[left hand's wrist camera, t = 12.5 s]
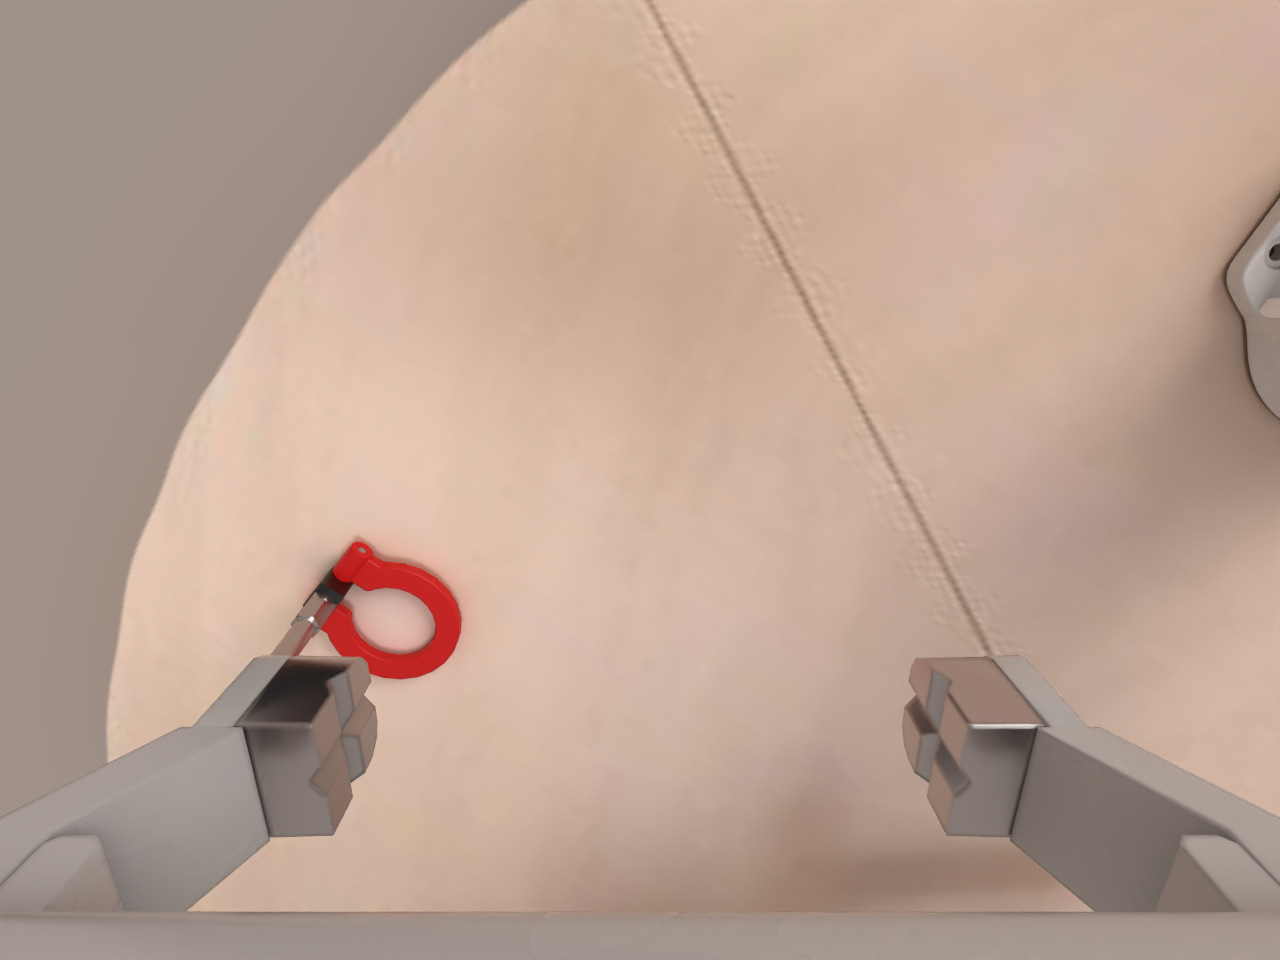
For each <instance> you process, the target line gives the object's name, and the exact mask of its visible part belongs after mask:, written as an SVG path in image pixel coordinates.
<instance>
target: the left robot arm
mask: <svg viewBox="0 0 1280 960" xmlns="http://www.w3.org/2000/svg"><path fill="white" fill-rule="evenodd" d="M1273 246H1274V253H1273V255H1272V256H1271V257H1269V252H1270V250H1271V248H1272V247H1273ZM1226 282H1227V287H1228V290H1229V293H1230V295H1231V297H1232V299H1233V301H1234V303H1235V304H1236V306H1237V308H1238V310H1239V311H1240V313H1241V314H1242V316H1243V318H1244V320H1245V324H1246V331H1247V351H1248V363H1249V368H1250V373H1251V376H1252V380H1253V383H1254V385H1255V388H1256V390H1257V392H1258V394H1259V395H1260V397H1261V399H1262V400H1263V402H1264V403H1265V404H1266V406H1267V407H1268V408H1269V409H1270V410H1271V411H1272V412H1273V413H1274V414H1275V415H1276V416H1277V417H1278V418H1280V198H1279V199H1278V201H1277V202H1276V203H1275V205H1274V206H1273V207H1272V209H1271V210H1270V211H1269V213H1268V214H1267V215H1266V217H1265V218H1264V219H1263V221H1262V222H1261V223H1260V225H1259V226H1258V227H1257V229H1256V230H1255V231H1254V233H1253V234H1252V235H1251V237H1250V238H1249V239H1248V241H1247V242H1246V243H1245V245H1244V246H1243V247H1242V249H1241V250H1240V251H1239V253H1238V254H1237V255H1236V257H1235V258H1234V259H1233V261H1232V263H1231V264H1230V266H1229V268H1228V271H1227V276H1226ZM370 683H371V678H370V673H369V668H368V663H367V662H366V661H365V660H364V659H363V658H362V657H335V656H291V655H290V656H260V657H257V658H254V659H253V660H252V661H251V662H250V663H249V664H248V665H247V666H246V668H245V669H244V670H243V671H242V672H241V673H240V674H239V675H238V676H237V678H236V679H235V680H234V681H233V682H232V683H231V684H230V685H229V686H228V688H227V689H226V690H225V691H224V692H223V693H222V694H221V695H220V696H219V698H218V699H217V700H216V701H215V702H214V703H213V704H212V705H211V706H210V708H209V709H208V710H207V711H206V712H205V713H204V714H203V715H202V716H201V717H200V719H199V720H198V721H197V722H196V723H195V724H194V725H193V726H192V727H180V728H178V729H176V730H174V731H172V732H170V733H168V734H166V735H164V736H162V737H160V738H158V739H156V740H154V741H152V742H150V743H148V744H146V745H144V746H142V747H140V748H138V749H136V750H134V751H132V752H130V753H128V754H126V755H124V756H122V757H120V758H118V759H116V760H114V761H112V762H110V763H108V764H106V765H104V766H102V767H100V768H98V769H96V770H94V771H92V772H90V773H88V774H86V775H84V776H82V777H80V778H78V779H76V780H74V781H72V782H70V783H68V784H66V785H64V786H62V787H60V788H58V789H56V790H54V791H52V792H50V793H48V794H46V795H44V796H42V797H40V798H38V799H36V800H34V801H32V802H30V803H28V804H26V805H24V806H22V807H20V808H18V809H16V810H14V811H12V812H10V813H8V814H6V815H4V816H2V817H0V960H1280V817H1278V816H1276V815H1274V814H1272V813H1270V812H1268V811H1266V810H1264V809H1262V808H1260V807H1258V806H1256V805H1254V804H1252V803H1250V802H1248V801H1246V800H1244V799H1242V798H1240V797H1238V796H1236V795H1234V794H1232V793H1230V792H1228V791H1226V790H1224V789H1222V788H1220V787H1218V786H1216V785H1214V784H1212V783H1210V782H1208V781H1206V780H1204V779H1202V778H1200V777H1198V776H1196V775H1194V774H1192V773H1190V772H1188V771H1186V770H1184V769H1182V768H1180V767H1178V766H1176V765H1174V764H1172V763H1170V762H1168V761H1166V760H1164V759H1162V758H1160V757H1158V756H1156V755H1154V754H1152V753H1150V752H1148V751H1146V750H1144V749H1142V748H1140V747H1138V746H1136V745H1134V744H1132V743H1130V742H1128V741H1126V740H1124V739H1122V738H1120V737H1118V736H1116V735H1114V734H1112V733H1110V732H1108V731H1106V730H1104V729H1102V728H1100V727H1088V726H1087V725H1086V724H1085V723H1084V722H1083V721H1082V720H1081V719H1080V717H1079V716H1078V715H1077V714H1076V713H1075V712H1074V711H1073V710H1072V709H1071V708H1070V706H1069V705H1068V704H1067V703H1066V702H1065V701H1064V700H1063V699H1062V698H1061V696H1060V695H1059V694H1058V693H1057V692H1056V691H1055V690H1054V689H1053V688H1052V686H1051V685H1050V684H1049V683H1048V682H1047V681H1046V680H1045V679H1044V678H1043V676H1042V675H1041V674H1040V673H1039V672H1038V671H1037V670H1036V669H1035V668H1034V666H1033V665H1032V664H1031V663H1030V662H1029V661H1028V660H1027V659H1026V658H1023V657H1021V656H1019V655H1005V656H984V657H946V658H916V659H915V661H914V663H913V665H912V667H911V672H910V678H909V683H910V684H911V686H912V688H913V690H914V691H915V693H916V696H915V697H914V698H913V699H912V700H911V701H910V702H909V703H908V704H907V705H906V706H905V709H904V717H903V725H902V727H903V737H904V746H905V749H906V753H907V756H908V759H909V761H910V763H911V766H912V768H913V770H914V772H915V773H916V774H918V775H919V776H920V777H922V778H923V779H925V780H926V781H927V782H929V789H928V795H927V798H928V800H929V802H930V804H931V806H932V807H933V809H934V811H935V813H936V815H937V817H938V819H939V821H940V823H941V825H942V827H943V829H944V831H945V833H946V835H947V836H982V837H1011V838H1010V841H1011V842H1013V843H1014V844H1015V845H1016V846H1017V847H1019V848H1020V849H1021V850H1022V851H1023V852H1025V853H1026V854H1027V855H1028V856H1029V857H1030V858H1032V859H1033V860H1034V861H1035V862H1036V863H1038V864H1039V865H1040V866H1041V867H1042V868H1044V869H1045V870H1046V871H1047V872H1048V873H1049V874H1051V875H1052V876H1053V877H1054V878H1055V879H1057V880H1058V881H1059V882H1060V883H1061V884H1063V885H1064V886H1065V887H1066V888H1067V889H1068V890H1070V891H1071V892H1072V893H1073V894H1074V895H1076V896H1077V897H1078V898H1079V899H1080V900H1082V901H1083V902H1084V903H1085V904H1086V905H1087V906H1089V907H1090V908H1091V909H1092V910H1093V911H1095V912H186V911H187V910H188V909H189V908H190V907H192V906H193V905H194V904H195V903H196V902H198V901H199V900H200V899H201V898H202V897H203V896H205V895H206V894H207V893H208V892H209V891H211V890H212V889H213V888H214V887H215V886H217V885H218V884H219V883H220V882H221V881H223V880H224V879H225V878H226V877H227V876H228V875H230V874H231V873H232V872H233V871H234V870H236V869H237V868H238V867H239V866H240V865H242V864H243V863H244V862H245V861H246V860H247V859H249V858H250V857H251V856H252V855H253V854H255V853H256V852H257V851H258V850H259V849H261V848H262V847H263V846H264V845H265V844H267V843H268V842H269V841H270V838H269V837H297V836H331V835H334V833H335V831H336V829H337V827H338V825H339V823H340V821H341V819H342V817H343V815H344V813H345V811H346V809H347V808H348V806H349V804H350V802H351V800H352V798H353V795H352V789H351V782H353V781H354V780H355V779H357V778H358V777H360V776H361V775H362V774H364V773H365V772H366V770H367V768H368V765H369V763H370V761H371V759H372V757H373V753H374V748H375V744H376V739H377V715H376V708H375V706H374V705H373V704H372V703H371V702H370V701H369V700H368V699H367V698H366V697H365V696H364V693H365V691H366V690H367V688H368V686H369V684H370Z"/></svg>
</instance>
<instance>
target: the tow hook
mask: <svg viewBox="0 0 1280 960" xmlns="http://www.w3.org/2000/svg"><path fill="white" fill-rule="evenodd" d="M353 583H354V584H356V585H357V586H359V587H361V588H362V589H364V590H365V591H372V590H374V589H381V588H394V589H400V590H403V591H406V592H409V593H411V594H413V595H414V596H416V597H418V598H419V599H420V600H421V601H423V602H424V603H425V604H426V605H427V606H428V608H429V610H430V611H431V613H432V614H433V617H434V620H435V624H436V629H435V636H434V638H433V639H432V641H431V642H430V643H429V644H428V645H427V646H426V647H424V648H423V649H421V650H419V651H416V652H414V653H411V654H403V655H397V654H388V653H385V652H382V651H379V650H377V649H375V648H373V647H371V646H370V645H368V644H367V643H366V642H365V641H364V640H363V639H362V638H361V637H360V636H359V634H358V633H357V631H356V630H355V628H354V625H353V622H352V613H351V611H350V609H348V608H346V607H345V606H343V605H341V604H340V602H341V601H342V599H343V598H344V597H345V595H346V594H347V592H348V591H349V589H350V588H351V586H352V585H353ZM291 626H292V627H291V628H290V630H289V631H288V632H287V634H286V635H285V636H284V638H283V639H282V640H281V642H280V643H279V644H278V646H277V647H276V648H275V650H274V651H273V652H272V654H271V655H270V656H290V655H291V656H299V654H300V653H301V651H302V650H303V648H304V647H305V645H306V644H307V643H308V641H309V640H310V638H312V637H314V636H315V635H316V634H317V632H318V631H319V630H320V629H321V630H323V631H324V632H326V633H327V634H328V636H329V639H330V641H331V643H332V644H333V645H334V647H335V648H336V650H337V651H338V653H339V654H340V655H341V656H343V657H362V658H363V659H364V660H365V661H366V662H367V663H368V668H369V673H370V674H373V675H376V676H379V677H383V678H392V679H407V678H415V677H419V676H422V675H425V674H427V673H430V672H432V671H434V670H435V669H437V668H438V667H440V666H441V665H442V664H444V663H445V662H446V661H447V659H448V658H449V657H450V656H451V654H452V653H453V652H454V649H455V647H456V644H457V641H458V639H459V636H460V633H461V616H460V612H459V608H458V605H457V603H456V601H455V599H454V598H453V596H452V595H451V593H450V591H449V590H448V589H447V588H446V587H445V586H444V585H443V584H442V583H441V582H440V581H439V580H438V579H437V578H435V577H433V576H432V575H430V574H428V573H427V572H425V571H423V570H422V569H419V568H416V567H413V566H410V565H407V564H403V563H393V562H383V561H381V560H380V559H378V558H377V557H375V556H373V552H372V550H371V548H370V547H369V546H367V545H366V544H364V543H362V542H354V543H353V544H352V545H351V546H350V548H349V549H348V550H347V551H346V553H345V554H344V555H343V557H342V558H341V559H340V560H339V562H338V563H337V564H336V566H334V567H333V568H331V569H330V571H329V572H328V573H327V575H326V576H325V577H324V579H323V580H322V581H321V582H320V584H319V585H318V586H317V588H316V589H315V590H314V591H313V593H312V594H311V595H310V597H309V598H308V599H307V601H306V602H305V603H304V605H303V608H302V609H301V611H300V612H299V613H298V615H297V616H296V618H295V619H294V620H293V622H292V623H291Z"/></svg>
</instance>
